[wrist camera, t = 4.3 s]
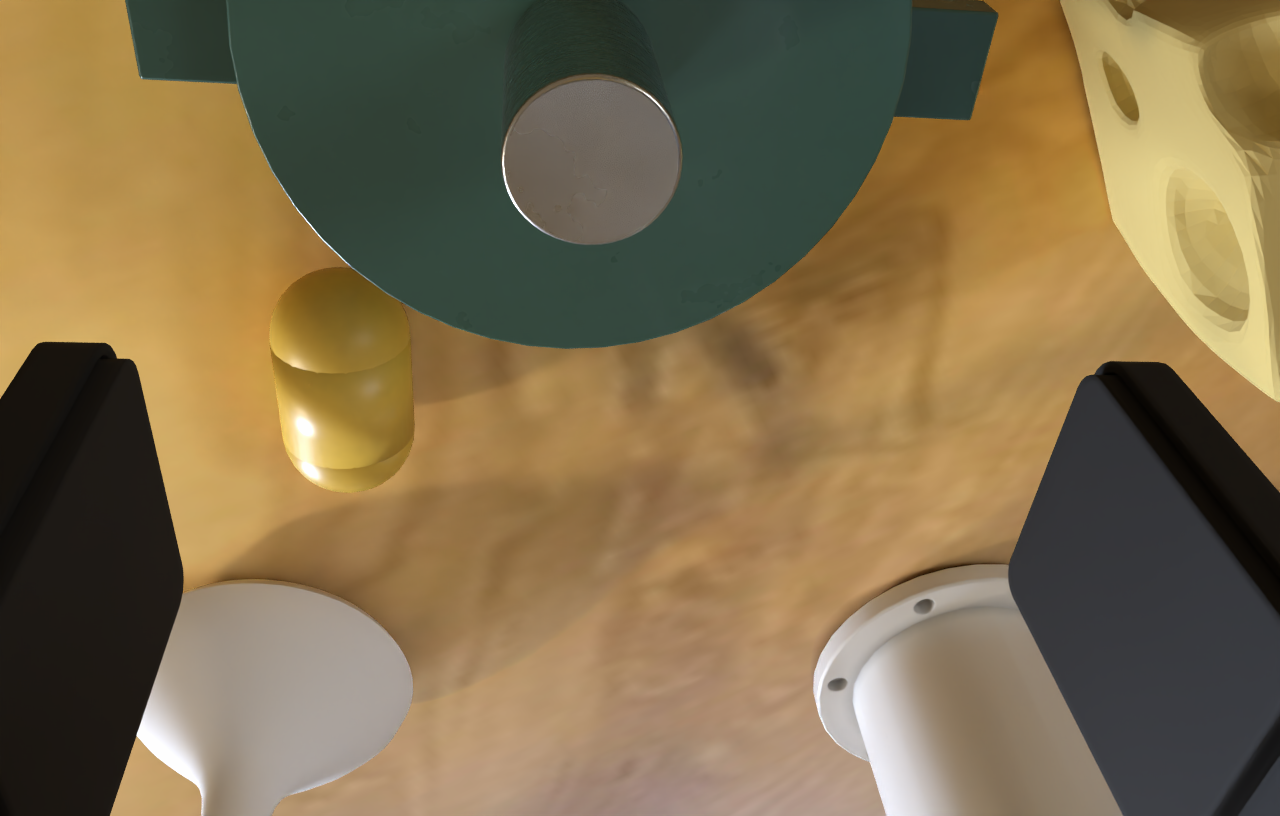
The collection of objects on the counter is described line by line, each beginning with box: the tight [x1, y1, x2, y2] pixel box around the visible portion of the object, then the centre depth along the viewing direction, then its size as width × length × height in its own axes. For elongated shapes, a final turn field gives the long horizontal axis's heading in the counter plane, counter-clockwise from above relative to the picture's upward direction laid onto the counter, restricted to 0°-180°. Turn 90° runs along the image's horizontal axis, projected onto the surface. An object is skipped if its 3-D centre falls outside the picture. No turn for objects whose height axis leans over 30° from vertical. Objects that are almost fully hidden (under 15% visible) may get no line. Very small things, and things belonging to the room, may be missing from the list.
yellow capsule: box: [269, 267, 415, 493], centre depth 34 cm, size 8×4×4 cm, turn 175°
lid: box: [226, 0, 912, 349], centre depth 20 cm, size 14×14×6 cm
